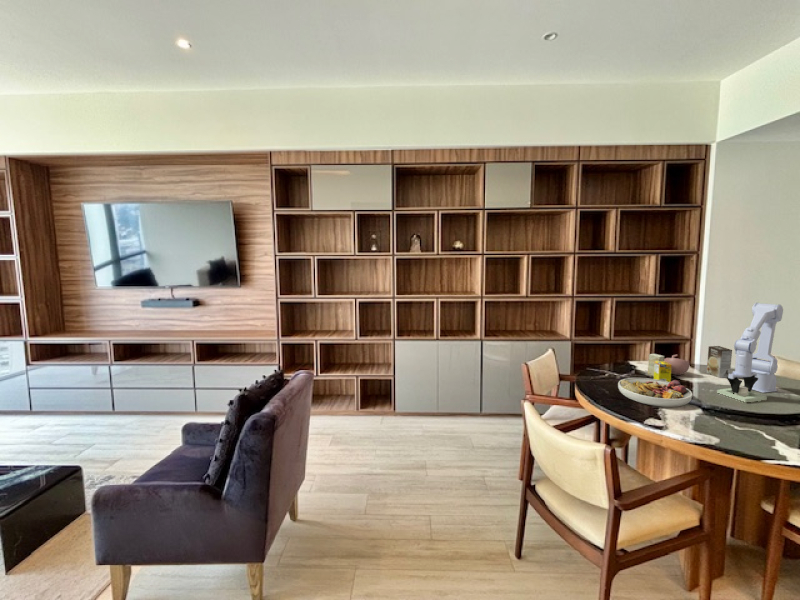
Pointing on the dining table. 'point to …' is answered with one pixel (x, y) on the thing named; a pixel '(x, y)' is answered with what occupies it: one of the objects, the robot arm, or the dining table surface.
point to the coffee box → (719, 361)
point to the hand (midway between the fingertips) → (741, 391)
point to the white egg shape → (743, 391)
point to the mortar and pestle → (677, 365)
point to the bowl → (655, 392)
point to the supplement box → (662, 371)
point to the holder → (751, 395)
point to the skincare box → (651, 362)
